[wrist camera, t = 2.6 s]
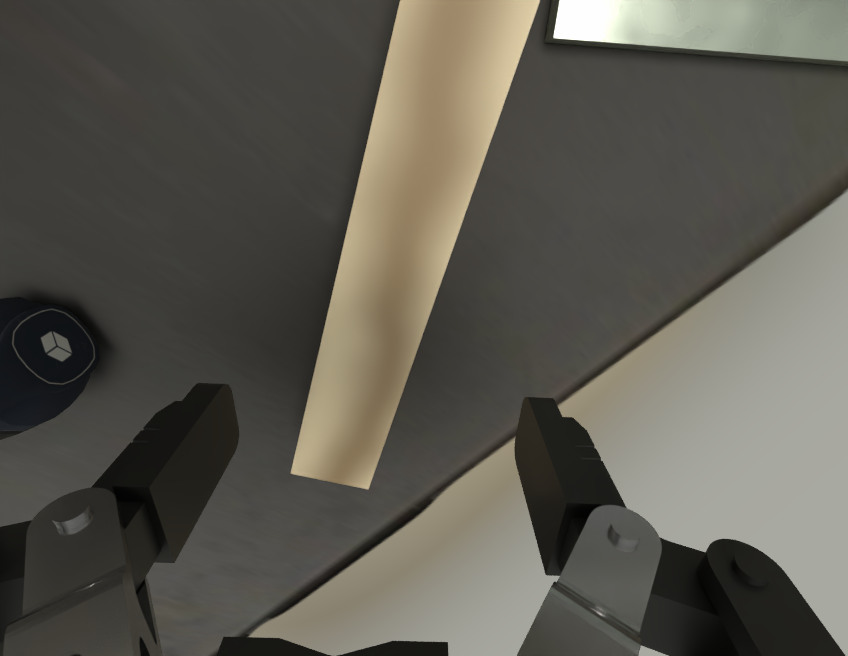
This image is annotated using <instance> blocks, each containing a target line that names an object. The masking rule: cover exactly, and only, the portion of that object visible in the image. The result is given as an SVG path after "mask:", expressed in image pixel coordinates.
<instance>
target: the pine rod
mask: <svg viewBox="0 0 848 656" xmlns="http://www.w3.org/2000/svg"><path fill="white" fill-rule="evenodd" d="M539 2H540V0H400V3H399V8H398V12H397V16H396V21H395V25H394V29H393V33H392V38H391V42H390V46H389V51H388V55H387V59H386V64H385V68H384V72H383V77H382V81H381V85H380V90H379V94H378V98H377V103H376V107H375V111H374V116H373V120H372V124H371V128H370V133H369V137H368V141H367V146H366V150H365V154H364V159H363V163H362V167H361V172H360V176H359V180H358V185H357V189H356V193H355V198H354V202H353V206H352V211H351V215H350V219H349V223H348V228H347V232H346V236H345V241H344V245H343V249H342V254H341V258H340V262H339V267H338V271H337V275H336V280H335V284H334V288H333V293H332V297H331V301H330V306H329V310H328V314H327V318H326V323H325V327H324V331H323V336H322V340H321V344H320V349H319V353H318V357H317V362H316V366H315V370H314V375H313V379H312V383H311V388H310V392H309V396H308V401H307V405H306V409H305V414H304V418H303V422H302V426H301V431H300V435H299V439H298V444H297V448H296V452H295V457H294V461H293V465H292V470H291V474H295V475H300V476H305V477H310V478H315V479H320V480H324V481H329V482H334V483H339V484H344V485H349V486H354V487H359V488H364V489H369V486H370V483H371V480H372V478H373V475H374V472H375V469H376V466H377V463H378V461H379V458H380V455H381V452H382V449H383V446H384V443H385V441H386V438H387V435H388V432H389V429H390V426H391V424H392V421H393V418H394V415H395V412H396V409H397V406H398V404H399V401H400V398H401V395H402V392H403V389H404V387H405V384H406V381H407V378H408V375H409V372H410V369H411V367H412V364H413V361H414V358H415V355H416V352H417V349H418V347H419V344H420V341H421V338H422V335H423V332H424V330H425V327H426V324H427V321H428V318H429V315H430V312H431V310H432V307H433V304H434V301H435V298H436V295H437V293H438V290H439V287H440V284H441V281H442V278H443V275H444V273H445V270H446V267H447V264H448V261H449V258H450V256H451V253H452V250H453V247H454V244H455V241H456V238H457V236H458V233H459V230H460V227H461V224H462V221H463V219H464V216H465V213H466V210H467V207H468V204H469V201H470V199H471V196H472V193H473V190H474V187H475V184H476V182H477V179H478V176H479V173H480V170H481V167H482V164H483V162H484V159H485V156H486V153H487V150H488V147H489V145H490V142H491V139H492V136H493V133H494V130H495V127H496V125H497V122H498V119H499V116H500V113H501V110H502V108H503V105H504V102H505V99H506V96H507V93H508V90H509V88H510V85H511V82H512V79H513V76H514V73H515V71H516V68H517V65H518V62H519V59H520V56H521V53H522V51H523V48H524V45H525V42H526V39H527V36H528V34H529V31H530V28H531V25H532V22H533V19H534V16H535V14H536V11H537V8H538V5H539Z"/></svg>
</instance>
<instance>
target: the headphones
mask: <svg viewBox="0 0 848 656" xmlns="http://www.w3.org/2000/svg"><path fill="white" fill-rule="evenodd" d="M98 360H99V347H98V345H97V343H96V341H95V339H94V337H93V336H92V334H91V333H90V332H89V330H88V329H87V328H86V326H85V325H84V324H83V323H82V322H81V321H80V320H79V319H78V318H77V317H76V316H75V315H74V314H73V313H71V312H70V311H69V310H67V309H66V308H64V307H61V306H58V305H54V304H50V305H42V304H40V303H38V302H34V301H31V300H27V299H24V298H21V297H15V298H4V299H0V440H1V439H4V438H7V437H10V436H13V435H16V434H19V433H21V432H23V431H26V430H28V429H30V428H33V427H35V426H37V425H39V424H41V423H43V422H46V421H48V420H50V419H52V418H55V417H56V416H57V415H59V414H60V413H61V412H63V411H64V410H65V409H66V408H68V407H69V406H70V405H71V404H72V403H73V402H74V401H75V400H76V399H77V397H78V396H79V395H80V394H81V393H82V392H83V390H84V388H85V386H86V384H87V382H88V380H89V378H90V373H91V372H92V371H93V370H94V368H95V367H96V365H97V363H98Z"/></svg>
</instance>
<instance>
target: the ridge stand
mask: <svg viewBox="0 0 848 656" xmlns="http://www.w3.org/2000/svg"><path fill="white" fill-rule="evenodd" d="M545 43H556V44H568V45H581V46H594V47H607V48H619V49H632V50H645V51H657V52H670V53H683V54H695V55H708V56H721V57H734V58H746V59H759V60H772V61H784V62H797V63H810V64H822V65H835V66H848V0H551V5H550V12H549V18H548V24H547V30H546V37H545Z"/></svg>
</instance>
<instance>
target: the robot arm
mask: <svg viewBox="0 0 848 656" xmlns="http://www.w3.org/2000/svg"><path fill="white" fill-rule="evenodd" d="M238 439H239V427H238V422H237V417H236V411H235V406H234V400H233V395H232V390H231V388H230V386H229V385H228V384H208V383H198V384H196V385H195V386H194V387H193V388H192V390H191V391H190V392H189V393H188V394H187V396H186V397H185V398H184V399H183V400H182V401H175V402H173V403H171V404H170V405H168V406H167V407H165V408H164V409H162V410H161V411H159V412H157V413H156V414H155V415H154V416H153V418H152V419H151V420H150V421H149V422H148V423H147V424H146V426H145V427H144V430H143V431H140V432H139V433H138V435H137V436H136V437H135V438H134V439H133V443H130V444H129V445H128V446H127V447H126V448H125V449H124V451H123V452H122V453H121V454H120V455H119V456H118V457H117V459H116V460H115V461H114V462H113V463H112V464H111V465H110V467H109V468H108V469H107V470H106V471H105V472H104V473H103V475H102V476H101V477H100V478H99V479H98V480H97V481H96V483H95V484H94V485H93V486H92V487H91V488H86V489H82V490H78V491H75V492H72V493H69V494H67V495H64V496H62V497H60V498H58V499H57V500H55V501H53V502H52V503H50V504H49V505H47V506H46V507H45V508H43V509H42V510H41V511H40V512H39V513H38V514H37V515H36V516H35V517H34V518H33V520H31V521H26V522H22V523H17V524H12V525H8V526H3V527H0V656H163V654H162V649H161V644H160V639H159V634H158V629H157V624H156V619H155V614H154V609H153V604H152V599H151V594H150V589H149V584H148V581H147V578H146V575H147V573H148V572H149V570H150V568H151V567H152V565H153V563H154V562H160V563H175V561H176V559H177V557H178V555H179V553H180V552H181V550H182V548H183V546H184V544H185V542H186V541H187V539H188V537H189V535H190V533H191V532H192V530H193V528H194V526H195V524H196V522H197V521H198V519H199V517H200V515H201V513H202V511H203V510H204V508H205V506H206V504H207V502H208V500H209V499H210V497H211V495H212V493H213V491H214V489H215V488H216V486H217V484H218V482H219V480H220V479H221V477H222V475H223V473H224V471H225V469H226V468H227V466H228V464H229V462H230V460H231V458H232V457H233V455H234V453H235V451H236V448H237V445H238ZM515 460H516V465H517V469H518V472H519V476H520V480H521V484H522V487H523V491H524V495H525V499H526V503H527V506H528V510H529V514H530V517H531V521H532V525H533V529H534V533H535V536H536V540H537V544H538V548H539V551H540V555H541V559H542V563H543V566H544V570H545V574H546V575H554V576H555V575H557V576H560V577H559V579H558V581H557V583H556V582H554V583H553V585H552V586H551V588H550V590H549V592H548V594H547V596H546V598H545V600H544V602H543V604H542V606H541V608H540V610H539V612H538V614H537V616H536V618H535V620H534V622H533V624H532V626H531V628H530V630H529V632H528V634H527V636H526V638H525V640H524V642H523V644H522V646H521V648H520V650H519V652H518V654H517V656H638V654H639V650H640V646H641V645H642V646H645V647H647V648H650V649H653V650H655V651H658V652H661V653H663V654H666V655H669V656H845V654H844V653H843V652H842V650H841V649H840V648H839V646H838V645H837V643H836V642H835V641H834V639H833V638H832V637H831V635H830V634H829V632H828V631H827V630H826V628H825V627H824V626H823V624H822V623H821V621H820V620H819V619H818V617H817V616H816V614H815V613H814V612H813V610H812V609H811V608H810V606H809V605H808V603H807V602H806V601H805V599H804V598H803V597H802V595H801V594H800V593H799V591H798V590H797V588H796V587H795V585H794V584H793V583H792V581H791V580H790V579H789V577H788V576H787V575H786V573H785V572H784V571H783V570H782V568H781V567H780V566H779V565H777V563H776V562H774V561H773V560H772V559H771V558H769V557H768V556H767V555H765V554H764V553H763V552H761V551H759V550H758V549H756V548H754V547H752V546H750V545H748V544H745V543H743V542H740V541H736V540H731V539H719V540H716V541H714V542H712V543H711V544H710V545H709V547H708V549H707V551H706V553H705V552H702V551H699V550H695V549H692V548H689V547H686V546H682V545H679V544H676V543H672V542H670V541H667V540H664V539H662V538H660V537H659V536H658V534H657V532H656V531H655V529H654V528H653V527H652V526H651V524H650V523H649V522H648V521H646V520H645V519H644V518H643V517H641V516H640V515H639V514H637V513H635V512H633V511H631V510H629V509H627V508H626V506H625V504H624V502H623V500H622V498H621V496H620V494H619V492H618V490H617V489H616V487H615V485H614V483H613V481H612V479H611V477H610V475H609V473H608V471H607V469H606V467H605V465H604V463H603V461H601V457H600V456H599V453H598V452H597V450H596V449H595V448H594V444H593V442H592V440H591V438H590V436H589V434H588V432H587V430H585V429H584V428H583V427H582V426H581V425H580V424H579V423H578V422H577V421H576V420H575V419H574V418H572V417H562V415H561V413H560V411H559V409H558V407H557V404H556V402H555V400H554V399H553V398H535V397H525V398H524V400H523V403H522V408H521V413H520V418H519V423H518V429H517V434H516V439H515ZM217 656H330V655H326V654H324V653H321V652H317V651H315V650H312V649H309V648H306V647H303V646H301V645H298V644H295V643H292V642H289V641H286V640H283V639H280V638H252V637H223V640H222V643H221V645H220V648H219V651H218V653H217ZM338 656H448V642H416V641H413V642H412V641H391V642H387V643H384V644H380V645H377V646H372V647H369V648H365V649H361V650H358V651H354V652H350V653H347V654H343V655H338Z"/></svg>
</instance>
